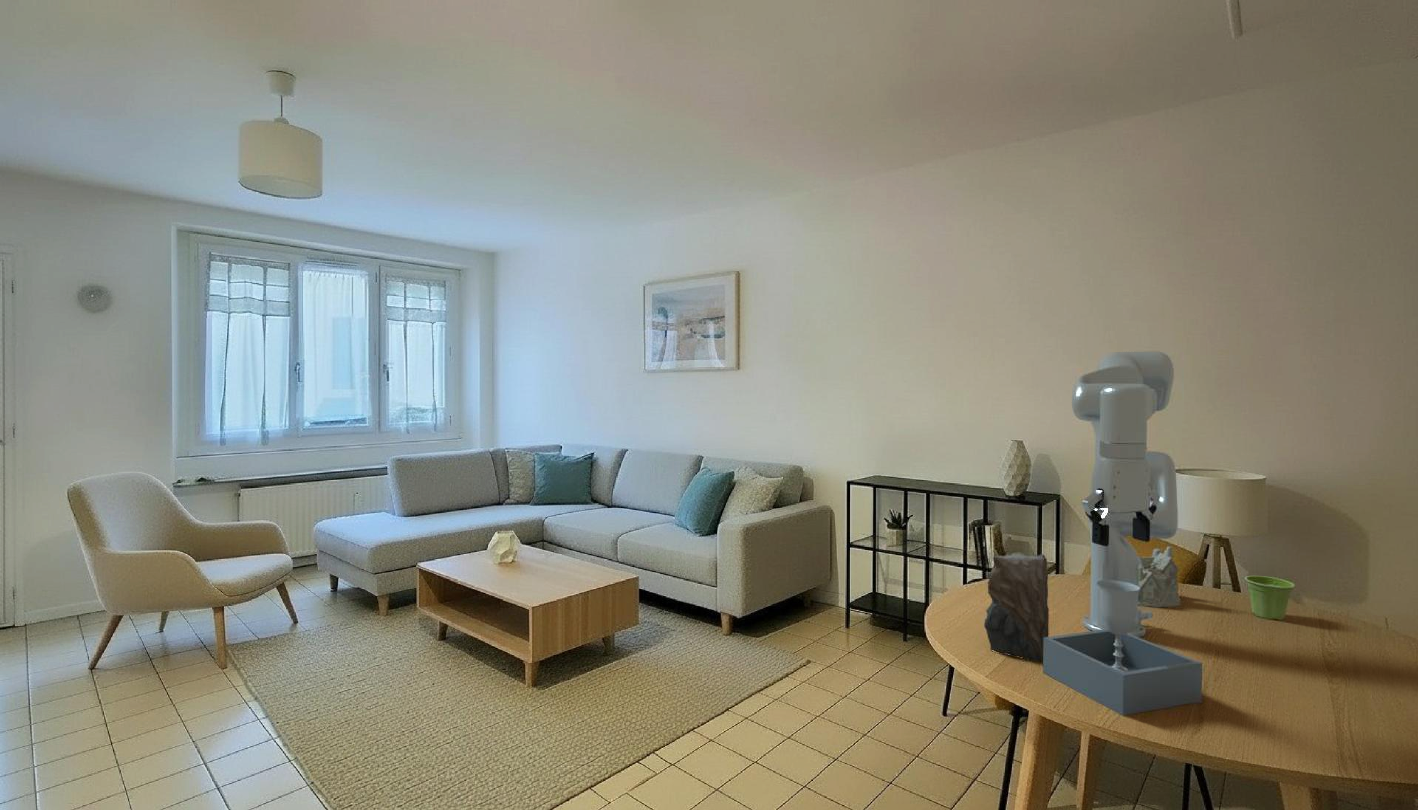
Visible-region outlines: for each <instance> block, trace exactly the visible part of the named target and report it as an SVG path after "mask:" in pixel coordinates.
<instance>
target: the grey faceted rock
mask: <svg viewBox="0 0 1418 810" xmlns="http://www.w3.org/2000/svg"><path fill="white" fill-rule="evenodd" d="M992 559H993V560H992V561H993V567H992V568H991V571H990V572H989V574H988V575H989V577H988V582H987V594H988V595H989V596H990V599H991V601H992V602H991V603H990V606H988V608H987V609H986V617H985V619H984V623H983V625H984V628H985V631H986V634H987V635H986V636H987V638H988V642H989V645H990V649H991V650H994V651H996V652H999V653H998V654H1000V653H1007V654H1010V655H1012V656H1011V657H1014V656H1019V657H1023V658H1022V659H1024V658H1026V659H1025V660H1027V659H1029V660H1028V661H1031V660H1033V661H1032V662H1037V661H1041V662H1040V663H1042V662H1043V645H1044V638H1045V637H1049V634H1050V633H1049V616H1050V614H1049V611H1050V609H1049V606H1048V605H1049V604H1048V599H1049V588H1048V587H1049V585H1048V579H1049V574H1048V570H1047V569H1048V560H1047V558H1046V556H1045V554H1043V553H1042V554H1037V555H1036V554H1029V553H1025V552H1020V551H1019V552H1013V553H1011V554H1005V555H994V556H993V557H992ZM991 650H990V651H991ZM996 652H995V653H996ZM1019 657H1018V658H1019Z"/></svg>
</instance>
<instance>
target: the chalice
mask: <svg viewBox="0 0 1418 810" xmlns="http://www.w3.org/2000/svg"><path fill="white" fill-rule="evenodd" d="M1097 585H1098V587H1099V589H1100V610H1101V613H1102V616H1103V619H1104V621H1105V623H1106V625H1107V627H1108V629H1109V631H1110V632H1111V633H1113V634H1115V638H1116V639H1115V643H1114V644H1113V645H1114V646H1115V649H1116V650H1115V653H1113V655H1114V656H1115V659H1116V662H1115V664H1114V666H1111V667H1113V668H1115V669H1117V670H1119V671H1121V672H1128V670H1127V669H1126V668H1124V667H1123V666H1122V663H1121V660H1122V657H1124V655H1123V654H1122V652H1121V649H1122V647H1123V645H1122V642H1121V637H1122V635H1126V634H1127V633H1128V631H1129V630H1130V628H1131V626H1132V625H1133V622H1134V620H1135V617H1136V615H1137V593H1138V591H1139V590H1140V588H1139V587H1138V586H1136V585H1134V584H1131V583H1127V582H1122V581H1113V580H1102V581H1098V582H1097Z"/></svg>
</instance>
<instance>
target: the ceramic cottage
mask: <svg viewBox="0 0 1418 810" xmlns="http://www.w3.org/2000/svg"><path fill="white" fill-rule="evenodd" d="M1173 549H1174V548H1173V547H1171V546H1167V547H1166V549H1164V552H1163V553H1162V550H1161V549H1159V548H1154V549H1153V550H1152V554H1151V556H1140V557H1139V556H1138V557H1139V586H1138V587H1139V588H1140V590H1139V591H1138V606H1141V607H1150V608H1152V607H1153V608H1172V607H1173V608H1174V607H1179V606H1181V605H1182V601H1181V596H1180V595H1179V583H1178V582H1177V577H1178V572H1180V570H1179V567H1178V565H1176V564H1175V562H1174V560H1173V557H1174V556H1173V555H1174V554H1173Z"/></svg>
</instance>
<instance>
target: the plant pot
mask: <svg viewBox="0 0 1418 810" xmlns="http://www.w3.org/2000/svg"><path fill="white" fill-rule="evenodd" d="M1244 580H1245V581H1246V583H1247V586H1248V591H1249V599H1250V606H1251V607H1250V608H1251V613H1252V614H1254V615H1255V616H1257V617H1259V618H1263V619H1267V620H1273V619H1276V620H1279V621H1281V620H1284V619H1285V617H1286V612H1287V607H1288V603H1289V600H1290V594H1291V593H1292V592H1293V589H1294V588H1295V584H1294V582H1291V581H1288V580H1286V579H1281V578H1277V577H1271V576H1265V575H1263V576H1262V575H1247V576H1245V577H1244Z"/></svg>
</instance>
